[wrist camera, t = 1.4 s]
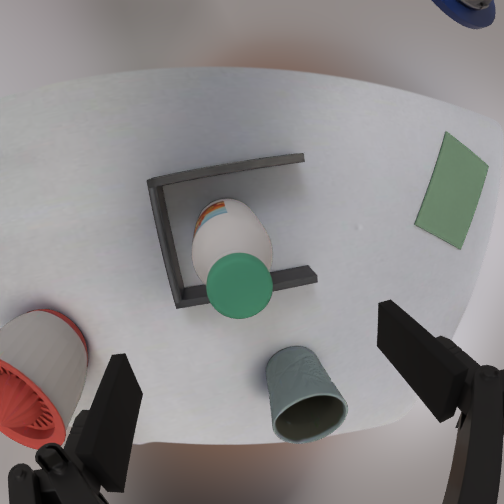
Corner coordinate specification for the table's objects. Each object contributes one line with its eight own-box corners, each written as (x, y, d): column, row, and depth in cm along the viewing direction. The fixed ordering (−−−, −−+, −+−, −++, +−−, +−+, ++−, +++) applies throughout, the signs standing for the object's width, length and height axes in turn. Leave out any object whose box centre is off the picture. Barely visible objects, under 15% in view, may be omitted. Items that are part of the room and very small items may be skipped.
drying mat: (445, 131, 40) (446, 131, 40) (487, 166, 43) (488, 166, 42) (414, 224, 44) (415, 224, 43) (459, 249, 46) (460, 249, 46)
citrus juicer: (-2, 304, 39) (-71, 368, 20) (77, 287, 40) (9, 369, 21) (35, 381, 44) (-9, 457, 25) (114, 375, 45) (82, 472, 26)
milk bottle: (244, 188, 39) (275, 217, 20) (265, 244, 42) (309, 316, 23) (186, 211, 39) (164, 261, 20) (209, 265, 42) (210, 353, 23)
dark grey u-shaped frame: (179, 295, 42) (175, 311, 38) (152, 177, 38) (145, 180, 33) (308, 271, 44) (319, 284, 39) (294, 153, 39) (305, 153, 34)
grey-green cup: (329, 343, 48) (358, 391, 36) (313, 392, 50) (334, 442, 39) (266, 341, 46) (282, 394, 35) (255, 391, 49) (266, 446, 37)
